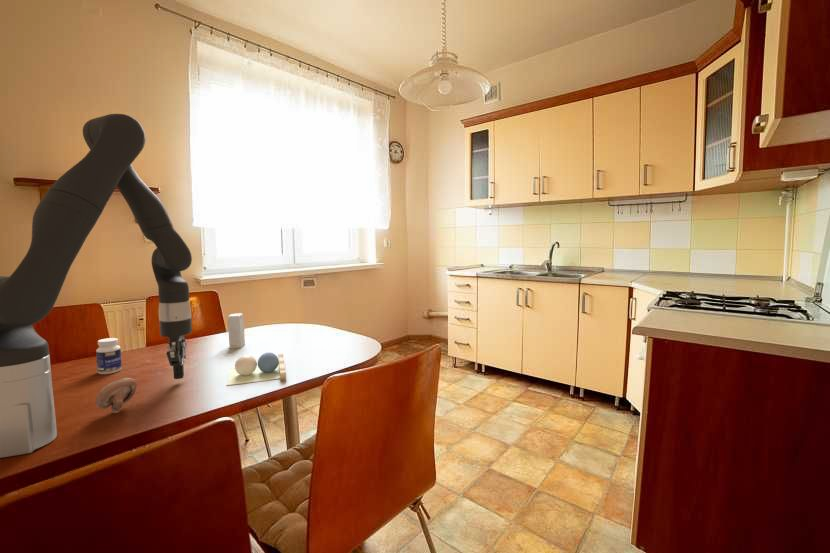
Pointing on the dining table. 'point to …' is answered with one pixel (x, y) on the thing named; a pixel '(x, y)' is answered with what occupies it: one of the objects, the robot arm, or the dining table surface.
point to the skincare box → (236, 330)
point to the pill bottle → (108, 356)
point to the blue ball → (268, 362)
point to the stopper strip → (282, 367)
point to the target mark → (252, 376)
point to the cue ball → (245, 365)
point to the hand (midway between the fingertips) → (179, 377)
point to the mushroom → (116, 394)
